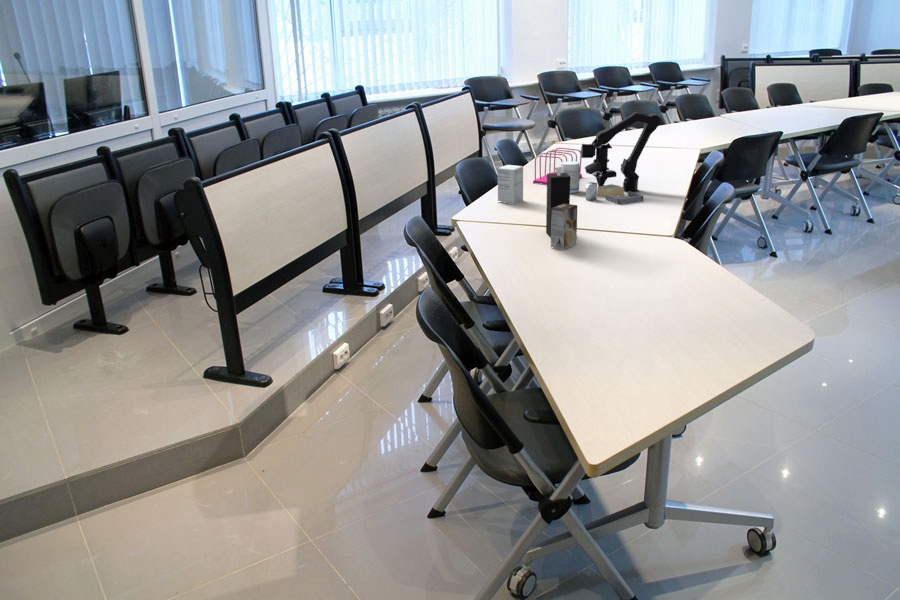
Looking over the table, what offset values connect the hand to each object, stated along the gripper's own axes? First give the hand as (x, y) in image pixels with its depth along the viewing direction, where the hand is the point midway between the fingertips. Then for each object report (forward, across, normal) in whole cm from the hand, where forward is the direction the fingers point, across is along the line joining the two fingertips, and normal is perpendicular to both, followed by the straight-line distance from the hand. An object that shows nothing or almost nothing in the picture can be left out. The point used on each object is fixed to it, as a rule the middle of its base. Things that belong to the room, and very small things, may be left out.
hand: (600, 188), depth 365 cm
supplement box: (+2, -5, -48) cm, 48 cm away
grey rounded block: (+2, +12, -13) cm, 18 cm away
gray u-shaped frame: (+2, +20, 0) cm, 21 cm away
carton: (+2, +9, 0) cm, 9 cm away
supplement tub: (+2, -8, -13) cm, 15 cm away
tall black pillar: (+2, +55, -57) cm, 79 cm away
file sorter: (+2, -34, -4) cm, 35 cm away
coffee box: (+2, +70, -63) cm, 94 cm away
